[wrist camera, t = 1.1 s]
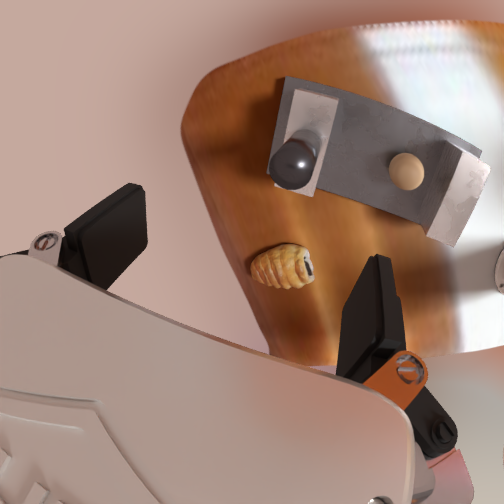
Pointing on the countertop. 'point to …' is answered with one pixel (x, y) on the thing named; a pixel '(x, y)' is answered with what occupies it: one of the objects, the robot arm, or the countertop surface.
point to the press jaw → (304, 142)
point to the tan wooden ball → (406, 171)
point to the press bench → (381, 154)
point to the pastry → (283, 267)
